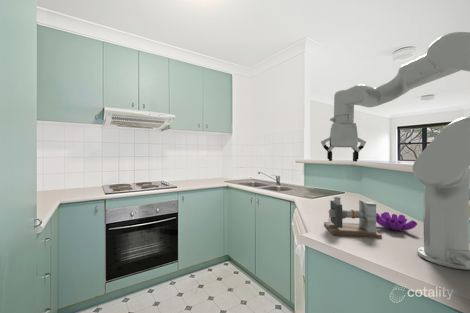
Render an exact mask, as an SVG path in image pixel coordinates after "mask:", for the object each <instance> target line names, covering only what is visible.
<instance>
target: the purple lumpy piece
mask: <svg viewBox="0 0 470 313" xmlns="http://www.w3.org/2000/svg"><path fill="white" fill-rule="evenodd" d="M407 220H408V218H406V216H405V215H404V214H399V215H397V213H392V214H390V213H389V212H388V211H387V212H386V211H385V212H382V213H378V212H376V224H378V225H379V226H381V227H384V228H385V229H389V230H394V231H410V230H412V229H414V228H416V227H417V226H418V222H416V221H415V220H410V221H408V222H407Z"/></svg>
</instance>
